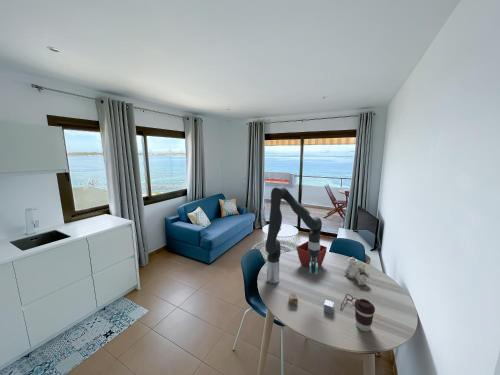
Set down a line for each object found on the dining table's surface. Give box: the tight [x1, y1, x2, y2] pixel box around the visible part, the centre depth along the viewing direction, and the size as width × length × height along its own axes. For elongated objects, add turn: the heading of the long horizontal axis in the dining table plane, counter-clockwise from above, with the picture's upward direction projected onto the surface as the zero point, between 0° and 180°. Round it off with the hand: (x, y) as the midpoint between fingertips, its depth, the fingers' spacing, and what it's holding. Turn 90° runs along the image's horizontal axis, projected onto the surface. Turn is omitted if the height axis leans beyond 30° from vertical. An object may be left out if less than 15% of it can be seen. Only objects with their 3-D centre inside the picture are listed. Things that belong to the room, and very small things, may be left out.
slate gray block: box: [323, 299, 335, 315], centre depth 128 cm, size 5×5×5 cm
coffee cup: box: [354, 298, 376, 332], centre depth 114 cm, size 10×10×15 cm
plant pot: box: [296, 240, 328, 270], centre depth 178 cm, size 19×19×17 cm
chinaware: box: [344, 256, 370, 286], centre depth 160 cm, size 28×17×17 cm, turn 159°
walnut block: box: [288, 292, 299, 307], centre depth 135 cm, size 5×5×5 cm
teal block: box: [309, 262, 319, 275], centre depth 137 cm, size 5×5×5 cm
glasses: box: [339, 293, 358, 311], centre depth 128 cm, size 13×13×5 cm
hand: (313, 270), depth 137 cm, fingers closed on teal block, 5 cm apart
